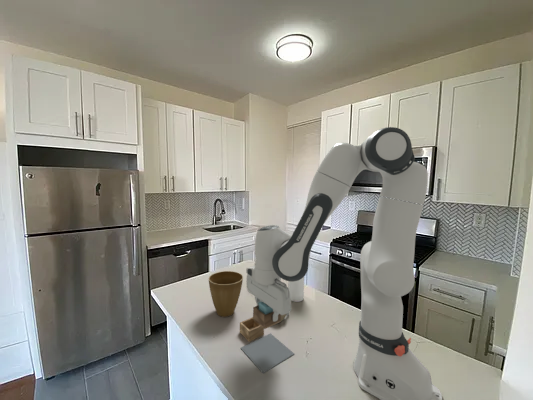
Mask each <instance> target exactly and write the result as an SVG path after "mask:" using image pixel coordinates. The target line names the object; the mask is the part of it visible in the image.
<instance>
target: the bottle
mask: <svg viewBox="0 0 533 400" xmlns="http://www.w3.org/2000/svg"><path fill="white" fill-rule="evenodd" d="M287 282H288V283H287V284H288V285H287V287H288V289H289V291H290V296H291V302H302V301H303V300H304V298H305V276H304V277H303V278H302V279H300V280H298V281H287Z"/></svg>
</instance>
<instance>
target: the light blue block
mask: <svg viewBox="0 0 533 400" xmlns="http://www.w3.org/2000/svg"><path fill="white" fill-rule="evenodd" d="M259 310H260V311H261V312H262V313H264V314H265V315H266V314H269V313H271V312H273V309H272V308H271V307H269V306H268V305H267V304H265V303H264V302H259Z"/></svg>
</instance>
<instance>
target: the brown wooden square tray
mask: <svg viewBox="0 0 533 400" xmlns="http://www.w3.org/2000/svg"><path fill="white" fill-rule="evenodd" d="M252 311H253V312H252V317H253V319H254V320H255V321H256V322H257V323H258V324H259V325H261V326H262V327H263V328H264V330H267V329H268V328H271V327H273V326H275V325H277V324H279V323H281V322H282V321H281V314H279V315H278V320H277V321H275V322H274V321H273V320H271V315H272V314H274V312H271V313H269V314H266V315H265V314H264V313H262V312H261V311H260V310H259V305H258V306H257V305H256V306H253V310H252Z"/></svg>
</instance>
